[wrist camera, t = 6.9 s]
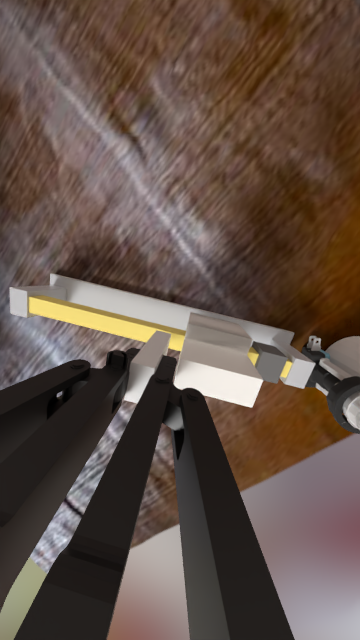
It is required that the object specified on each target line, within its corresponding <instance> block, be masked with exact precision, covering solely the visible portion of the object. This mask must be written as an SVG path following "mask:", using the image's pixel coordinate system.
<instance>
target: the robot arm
mask: <svg viewBox="0 0 360 640" xmlns="http://www.w3.org/2000/svg"><path fill="white" fill-rule="evenodd" d="M170 338H171V334H170V333H166V332H162V331H158V330H156V332H155V333H154V334H153V335H152V336H151V338H150V339H149V340H148V341H147V343H146V344H145V345H144V346H143V348H142V349H141V350H140V349H136V348H131V349H128V350H127V351H126V352H124V351H119V350H114V351H110V352H108V353H107V361H106V365H105V366H104V367H103V368H102V369H98V368H90V367H91V365H90V363H89V362H88V361H86V360H81V359H78V360H72V361H69V362H67V363H64V364H62V365H60V366H57V367H55V368H52V369H50V370H48V371H45V372H43V373H41V374H38V375H36V376H34V377H31V378H29V379H26V380H24V381H22V382H19V383H17V384H15V385H12V386H10V387H8V388H5V389H3V390H0V612H1V609H2V607H3V604H4V602H5V599H6V597H7V595H8V593H9V591H10V589H11V587H12V585H13V583H14V582H15V579H16V578H17V576H18V575H19V573H20V571H21V570H22V568H23V566H24V565H25V563H26V561H27V560H28V558H29V557H30V555H31V553H32V552H33V550H34V548H35V547H36V545H37V543H38V542H39V540H40V538H41V537H42V535H43V533H44V532H45V530H46V528H47V527H48V525H49V523H50V522H51V520H52V519H53V517H54V515H55V514H56V512H57V510H58V509H59V507H60V505H61V504H62V502H63V500H64V499H65V497H66V495H67V494H68V492H69V490H70V489H71V487H72V485H73V484H74V482H75V481H76V479H77V477H78V476H79V474H80V472H81V471H82V469H83V467H84V466H85V464H86V462H87V461H88V459H89V457H90V456H91V454H92V452H93V451H94V449H95V447H96V446H97V444H98V442H99V441H100V439H101V438H102V436H103V434H104V433H105V431H106V429H107V428H108V426H109V424H110V423H111V421H112V419H113V418H114V416H115V414H116V413H117V411H118V409H119V408H120V406H121V403H122V398H123V396H124V395H125V399H124V400H127V401H130V402H134V403H138V404H137V406H136V408H135V410H134V412H133V414H132V416H131V418H130V420H129V422H128V424H127V426H126V428H125V430H124V433H123V435H122V437H121V439H120V441H119V443H118V445H117V447H116V449H115V451H114V453H113V455H112V457H111V459H110V461H109V463H108V465H107V467H106V469H105V472H104V474H103V476H102V478H101V480H100V482H99V484H98V486H97V488H96V490H95V492H94V494H93V496H92V498H91V500H90V502H89V504H88V506H87V508H86V511H85V513H84V515H83V517H82V519H81V521H80V523H79V525H78V527H77V529H76V531H75V533H74V535H73V537H72V539H71V541H70V542H69V544H68V546H67V547H66V548H65V549H64V550H63V551H62V552H61V553H60V554H59V555H58V557H57V559H56V560H55V562H54V563H53V565H52V567H51V569H50V570H49V572H48V574H47V576H46V578H45V580H44V581H43V583H42V586H41V587H40V589H39V591H38V593H37V595H36V597H35V599H34V601H33V603H32V605H31V607H30V609H29V611H28V613H27V615H26V617H25V619H24V620H23V623H22V624H21V626H20V628H19V630H18V632H17V634H16V636H15V638H14V640H107V637H108V633H109V629H110V625H111V622H112V618H113V614H114V610H115V605H116V602H117V597H118V594H119V590H120V586H121V582H122V578H123V574H124V570H125V566H126V562H127V558H128V554H129V550H130V546H131V542H132V539H133V535H134V531H135V527H136V523H137V519H138V515H139V511H140V507H141V503H142V499H143V495H144V491H145V487H146V483H147V479H148V475H149V471H150V467H151V463H152V460H153V456H154V452H155V448H156V444H157V440H158V436H159V432H160V428H161V424H162V423H164V424H165V425H167V426H169V427H170V428H172V430H171V434H172V445H173V456H174V467H175V478H176V489H177V501H178V512H179V523H180V532H181V533H180V534H181V543H182V556H183V567H184V577H185V588H186V599H187V611H188V622H189V633H190V640H295V639H294V637H293V634H292V632H291V629H290V626H289V623H288V621H287V618H286V615H285V613H284V610H283V607H282V605H281V602H280V599H279V597H278V594H277V591H276V589H275V586H274V583H273V580H272V578H271V575H270V572H269V570H268V567H267V564H266V562H265V559H264V556H263V554H262V551H261V548H260V546H259V543H258V540H257V538H256V535H255V532H254V530H253V527H252V524H251V521H250V519H249V516H248V514H247V511H246V508H245V505H244V503H243V500H242V497H241V495H240V492H239V489H238V487H237V484H236V481H235V479H234V476H233V473H232V471H231V468H230V465H229V462H228V460H227V457H226V454H225V452H224V449H223V446H222V444H221V441H220V438H219V436H218V433H217V430H216V428H215V425H214V422H213V420H212V417H211V414H210V412H209V409H208V406H207V403H206V401H205V398H204V396H203V394H202V393H201V392H200V391H198V390H196V389H194V388H185V389H183V390H182V391H181V390H180V389H178V388H177V387H175V386H174V384H173V382H172V381H173V376H174V372H175V368H176V364H177V361H176V359H175V358H173V357H169V356H167V351H168V347H169V342H170ZM61 391H62V395H61V396H60V397H57V393H59V392H61Z"/></svg>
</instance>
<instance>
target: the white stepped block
mask: <svg viewBox="0 0 360 640" xmlns="http://www.w3.org/2000/svg"><path fill="white" fill-rule="evenodd" d="M252 340H253V339H252V338H251V337H250V336H249V335H248V334H247V333H246V332H245V330H244V329H243V328H242V327H241V326H240V325H239V324H237V323H233V322H229V321H225V320H221V319H217V318H213V317H208V316H204V315H200V314H196V313H192V312H190V316H189V320H188V324H187V328H186V334H185V338H184V342H183V346H182V350H181V353H180V357H179V361H178V366H177V370H176V375H175V381H174V386H175V387H177V388H179V389H185V388H194V389H196V390H198V391H200V392H201V393H202V394H203V395H205V396H209V397H213V398H217V399H221V400H224V401H228V402H232V403H236V404H240V405H243V406H247V407H251V408H252V407H253V404H254V402H255V399H256V397H257V394H258V392H259V389H260V387H261V384H262V382H263V379H262V377H261V376H260V374H259V373H258V371H257V370H256V368H255V366H254V365H253V363H252V362H251V360H250V359H249V357H248V356H247V354H248V351H249V349H250V346H251V343H252Z"/></svg>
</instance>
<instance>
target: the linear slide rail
mask: <svg viewBox="0 0 360 640" xmlns="http://www.w3.org/2000/svg"><path fill="white" fill-rule="evenodd" d="M40 295H44V296H48V297H52V298H56V299H60V300H64V301H68V302H72V303H76V304H80V305H84V306H88V307H92V308H96V309H100V310H104V311H108V312H112V313H116V314H120V315H124V316H128V317H132V318H136V319H140V320H144V321H148V322H152V323H156V324H160V325H165V326H169V327H173V328H177V329H181V330H185V331H186V328H187V324H188V320H189V316H190V312H192V313H196V314H200V315H204V316H208V317H213V318H217V319H221V320H225V321H229V322H233V323H237V324H239V325H240V326H241V327H242V328H243V329H244V330H245V332H246V333H247V334H248V335H249V336H250V337H251V338H252V339H253V340H252V343H253V341H255V342H259V343H263V344H268V345H272V346H275V347H276V348H277V349H278V350H280V351H281V352H282V353H283V354H284V355H285V356H286V357H288V359H289V360H290V361H291V362H292V365H291V367H290V370H289V372H288V374H287V377H286V378H284V377H280V379H281V380H282V381H283V382H284V384H287V385H291V386H295V387H299V388H303V389H304V387H305V385H306V383H307V381H308V379H309V377H310V375H311V372H312V370H313V368H314V366H315V364H316V363H314V362H313V361H312V360H310V359H309V358H307V357H306V356H305V355H303V354H302V353H300V352H299V351H297V350H296V349H295V348H293V347H292V346H290V343H291V341H292V338H293V336H294V333H293V332H292V331H288V330H284V329H280V328H275V327H271V326H267V325H263V324H259V323H255V322H251V321H247V320H243V319H238V318H234V317H230V316H226V315H222V314H218V313H214V312H210V311H206V310H202V309H197V308H193V307H189V306H185V305H181V304H177V303H173V302H169V301H165V300H160V299H156V298H152V297H148V296H144V295H140V294H136V293H132V292H128V291H123V290H119V289H115V288H111V287H107V286H103V285H99V284H95V283H91V282H86V281H82V280H78V279H74V278H70V277H66V276H62V275H58V274H50V285H48V286H24V287H10V314H14V315H18V316H22V317H26V318H28V317H33V316H37V314H33V313H29V297H31V296H40ZM252 343H251V346H252ZM251 346H250V347H251Z"/></svg>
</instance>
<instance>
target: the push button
mask: <svg viewBox="0 0 360 640" xmlns="http://www.w3.org/2000/svg"><path fill="white" fill-rule="evenodd" d="M312 338H314V340H313V341H311V339H312ZM316 341H319V342H318V343H315V342H316ZM320 343H321V338H316V336H310V337H309V344H307V347H303V348H302V354H303V355H305V356H306V357H307V358H309V359H310V360H312V361H313V362H314V363H316V364H315V366H314V368H313V370H312V372H311V375H310V377H309V379H308V381H307V383H306V385H305V386H306V387H316V388H317V389H318V390H321V391H322V392H323V393H324V394H325V395H326V396H327V397H326V398H327V402H328V407H329V410H330V412H331V413H332V414H333V416H334V418H335V420H336V421H337V422H338V423H339V424H340V425H341V426H342V427H343V428H344V429H346V430H348V431H350V432H353V433H358V434H360V377H359V376H351V375H350V374H348V373H347V372H345V371H344V370H342V369H341V368H339V367H337V366H336V365H334V364H333V363H331V361H330V354H329V353H327V352H325V351H323V350H321V346H320ZM342 413H343V414H344V415H342Z"/></svg>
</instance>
